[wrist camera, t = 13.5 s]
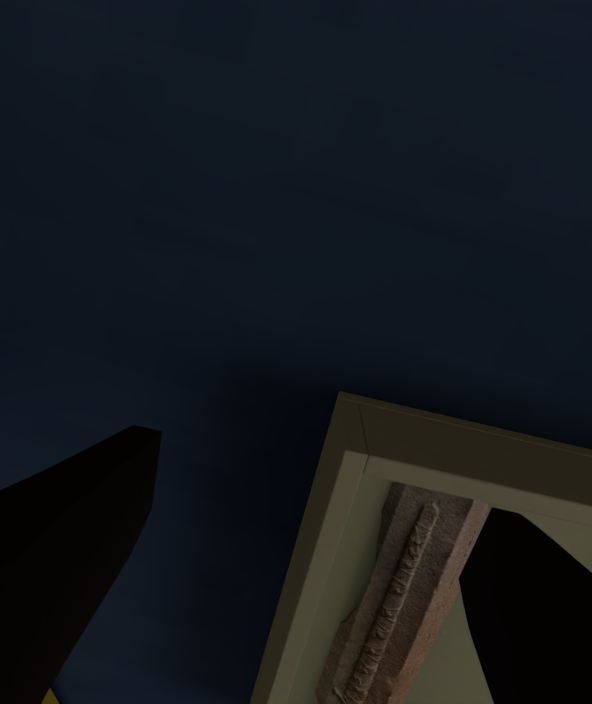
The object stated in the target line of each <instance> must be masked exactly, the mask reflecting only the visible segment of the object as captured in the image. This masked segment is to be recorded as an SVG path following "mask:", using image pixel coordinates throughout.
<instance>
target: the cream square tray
mask: <svg viewBox="0 0 592 704" xmlns="http://www.w3.org/2000/svg"><path fill="white" fill-rule="evenodd" d="M392 483H403V484H408V485H412V486H416V487H421V488H425V489H429V490H434V491H438V492H442V493H447V494H451V495H456V496H460V497H464V498H469V499H473V500H477V501H482V502H486V503H488V509H487V512H488V513H487V517H488V514H489V512H490V510H491V508H492V507H494V508H498V509H503V510H507V511H511V512H516V513H520V514H521V515H523V516H524V517H525V518H527V519H528V520H529V521H531V522H532V523H533V524H535V525H536V526H537V527H538V528H540V529H541V530H542V531H543V532H545V533H546V534H547V535H548V536H549V537H551V538H552V539H553V540H554V541H555V542H557V543H558V544H559V545H560V546H561V547H562V548H564V549H565V550H566V551H567V552H568V553H569V554H571V555H572V556H573V557H574V558H575V559H576V560H578V561H579V562H580V563H581V564H582V565H583V566H585V567H586V568H587V569H588V570H589V571H590V572H592V450H591V449H587V448H583V447H578V446H574V445H570V444H565V443H561V442H557V441H552V440H548V439H544V438H540V437H535V436H531V435H527V434H522V433H518V432H514V431H509V430H505V429H501V428H497V427H492V426H488V425H484V424H479V423H475V422H471V421H467V420H462V419H458V418H454V417H449V416H445V415H441V414H436V413H432V412H428V411H424V410H419V409H415V408H411V407H406V406H402V405H398V404H393V403H389V402H385V401H381V400H376V399H372V398H368V397H363V396H359V395H355V394H350V393H346V392H342V391H340V392H339V394H338V397H337V401H336V404H335V408H334V411H333V414H332V418H331V421H330V425H329V428H328V432H327V435H326V439H325V442H324V446H323V449H322V453H321V456H320V460H319V463H318V467H317V470H316V474H315V477H314V481H313V484H312V488H311V491H310V495H309V498H308V502H307V505H306V509H305V512H304V515H303V519H302V522H301V526H300V529H299V533H298V536H297V540H296V543H295V547H294V550H293V554H292V557H291V561H290V564H289V568H288V571H287V575H286V578H285V582H284V585H283V589H282V592H281V596H280V599H279V603H278V606H277V610H276V613H275V617H274V620H273V623H272V627H271V630H270V634H269V637H268V641H267V644H266V648H265V651H264V655H263V658H262V662H261V665H260V669H259V672H258V676H257V679H256V683H255V686H254V690H253V693H252V697H251V700H250V704H318V702H317V696H316V691H315V690H316V688H317V685H318V682H319V680H320V677H321V674H322V672H323V669H324V666H325V663H326V660H327V658H328V655H329V652H330V649H331V646H332V644H333V641H334V638H335V636H336V633H337V630H338V628H339V625H340V622H347V620H348V618H349V616H350V614H351V613H352V612H353V611H354V610H355V609H356V608H357V607H358V606H359V604H360V602H361V599H362V597H363V595H364V593H365V590H366V588H367V585H368V583H369V581H370V579H371V576H372V573H373V570H374V566H375V562H376V551H377V540H378V535H379V530H380V525H381V517H382V509H383V506H384V503H385V501H386V498H387V495H388V493H389V490H390V487H391V485H392ZM486 519H487V518H486ZM449 613H450V614H449V615H448V616H446V617H445V619H444V621H442V623H441V625H440V629H439V630H438V637H437V636H436V637H435V640H434V642H433V644H432V646H431V649H430V650H429V652H428V654H427V655H426V658H425V660H424V662H423V664H422V666H421V668H420V671H419V673H418V675H417V677H416V679H415V681H414V683H413V685H412V687H411V689H410V690H409V692H408V694H407V696H406V697H405V699H404V701H403V703H402V704H494V703H493V700H492V697H491V694H490V691H489V688H488V685H487V682H486V679H485V676H484V674H483V671H482V668H481V665H480V662H479V659H478V656H477V653H476V650H475V647H474V644H473V640H472V637H471V634H470V631H469V627H468V623H467V618H466V614H465V610H464V605H463V600H462V595H461V590H460V591H459V592H458V594H457V596H456V598H455V600H454V605H453V606H452V607H451V608H450V610H449Z"/></svg>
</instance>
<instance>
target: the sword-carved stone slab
mask: <svg viewBox="0 0 592 704" xmlns="http://www.w3.org/2000/svg"><path fill="white" fill-rule="evenodd" d="M487 509H488V503H486V502H482V501H477V500H473V499H469V498H464V497H460V496H456V495H451V494H447V493H442V492H438V491H434V490H429V489H425V488H421V487H416V486H412V485H408V484H403V483H392V485H391V487H390V490H389V493H388V495H387V498H386V501H385V503H384V506H383V509H382V517H381V525H380V530H379V535H378V540H377V551H376V562H375V566H374V570H373V573H372V576H371V579H370V581H369V583H368V585H367V588H366V590H365V593H364V595H363V597H362V599H361V602H360V604H359V606H358V607H357V608H356V609H355V610H354V611H353V612H352V613H351V614H350V616H349V618H348V620H347V622H340V625H339V628H338V630H337V633H336V636H335V638H334V641H333V644H332V646H331V649H330V652H329V655H328V658H327V660H326V663H325V666H324V669H323V672H322V674H321V677H320V680H319V682H318V685H317V688H316V690H315V691H316V696H317V702H318V704H402V703H403V701H404V699H405V697H406V696H407V694H408V692H409V690H410V689H411V687H412V685H413V683H414V681H415V679H416V677H417V675H418V673H419V671H420V668H421V666H422V664H423V662H424V660H425V658H426V655H427V654H428V652H429V650H430V649H431V646H432V644H433V642H434V640H435V637H436V636H437V637H438V630H439V629H440V625H441V623H442V621H444V619H445V617H446V616H448V615H449V614H450V613H449V610H450V608H451V607H452V606H453V605H454V600H455V598H456V596H457V594H458V592H459V591H460V590H461V589H460V584H459V579H458V578H459V576H460V574H461V572H462V570H463V567H464V565H465V563H466V561H467V559H468V557H469V555H470V553H471V550H472V548H473V546H474V544H475V542H476V540H477V538H478V536H479V534H480V531H481V529H482V527H483V525H484V523H485V521H486V518H487V513H488V512H487Z"/></svg>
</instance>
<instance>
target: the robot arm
mask: <svg viewBox="0 0 592 704" xmlns="http://www.w3.org/2000/svg"><path fill="white" fill-rule="evenodd" d="M161 435H162V431H158V430H153V429H149V428H145V427H140V426H136V425H133V426H131V427H128V428H126V429H124V430H122V431H120V432H118V433H116V434H115V435H113V436H111V437H109V438H107V439H105V440H103V441H101V442H99V443H97V444H95V445H94V446H92V447H90V448H88V449H86V450H84V451H82V452H80V453H78V454H76V455H74V456H72V457H70V458H68V459H66V460H64V461H62V462H60V463H58V464H56V465H54V466H52V467H50V468H48V469H46V470H44V471H42V472H40V473H37V474H35V475H33V476H31V477H29V478H26V479H24V480H22V481H20V482H18V483H15V484H13V485H11V486H9V487H6V488H4V489H2V490H0V704H41V703H42V701H43V699H44V698H45V696H46V694H47V692H48V690H49V689H50V687H51V685H52V683H53V682H54V680H55V678H56V676H57V675H58V673H59V671H60V669H61V668H62V666H63V664H64V663H65V661H66V659H67V658H68V656H69V655H70V653H71V651H72V650H73V648H74V646H75V645H76V643H77V641H78V640H79V638H80V637H81V635H82V633H83V632H84V630H85V628H86V627H87V625H88V623H89V622H90V620H91V619H92V617H93V615H94V614H95V612H96V610H97V609H98V607H99V606H100V604H101V602H102V601H103V599H104V597H105V596H106V594H107V592H108V591H109V589H110V588H111V586H112V584H113V583H114V581H115V579H116V578H117V576H118V574H119V573H120V571H121V569H122V568H123V566H124V564H125V563H126V561H127V559H128V558H129V556H130V554H131V552H132V550H133V548H134V546H135V544H136V542H137V540H138V538H139V535H140V533H141V531H142V529H143V527H144V524H145V522H146V520H147V518H148V516H149V513H150V511H151V509H152V502H153V494H154V487H155V479H156V472H157V464H158V457H159V450H160V442H161ZM458 579H459V584H460V589H461V595H462V600H463V605H464V610H465V614H466V618H467V623H468V627H469V631H470V634H471V637H472V640H473V644H474V647H475V650H476V653H477V656H478V659H479V662H480V665H481V668H482V671H483V674H484V676H485V679H486V682H487V685H488V688H489V691H490V694H491V697H492V700H493V703H494V704H592V572H590V571H589V570H588V569H587V568H586V567H585V566H583V565H582V564H581V563H580V562H579V561H578V560H576V559H575V558H574V557H573V556H572V555H571V554H569V553H568V552H567V551H566V550H565V549H564V548H562V547H561V546H560V545H559V544H558V543H557V542H555V541H554V540H553V539H552V538H551V537H549V536H548V535H547V534H546V533H545V532H543V531H542V530H541V529H540V528H538V527H537V526H536V525H535V524H533V523H532V522H531V521H529V520H528V519H527V518H525V517H524V516H523V515H521V514H520V513H516V512H511V511H507V510H503V509H498V508H494V507H492V508H491V510H490V512H489V514H488V517H487V519H486V521H485V523H484V525H483V527H482V529H481V531H480V534H479V536H478V538H477V540H476V542H475V544H474V546H473V548H472V550H471V553H470V555H469V557H468V559H467V561H466V563H465V565H464V567H463V570H462V572H461V574H460V576H459V578H458Z"/></svg>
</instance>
